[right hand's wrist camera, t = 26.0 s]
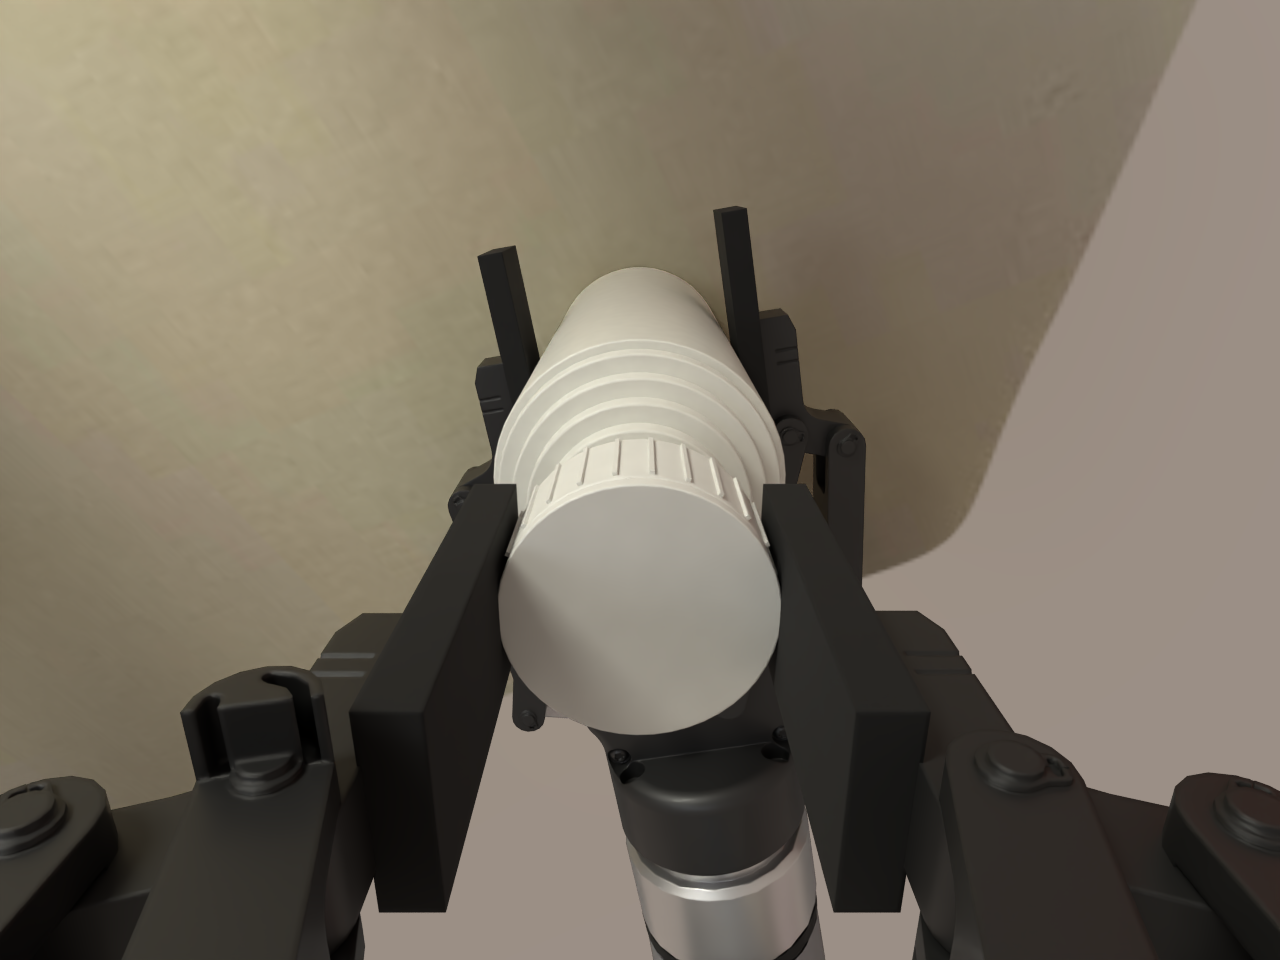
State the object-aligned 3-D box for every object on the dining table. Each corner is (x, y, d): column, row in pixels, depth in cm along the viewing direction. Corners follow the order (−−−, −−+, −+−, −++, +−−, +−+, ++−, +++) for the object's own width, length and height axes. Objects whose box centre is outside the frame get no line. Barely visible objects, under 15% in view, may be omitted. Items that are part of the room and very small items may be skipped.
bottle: (743, 297, 32) (904, 473, 12) (688, 446, 34) (753, 791, 15) (586, 244, 31) (497, 342, 12) (540, 399, 33) (403, 698, 14)
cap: (774, 437, 14) (799, 483, 12) (755, 663, 15) (774, 741, 13) (510, 431, 14) (486, 477, 12) (518, 658, 15) (499, 736, 13)
